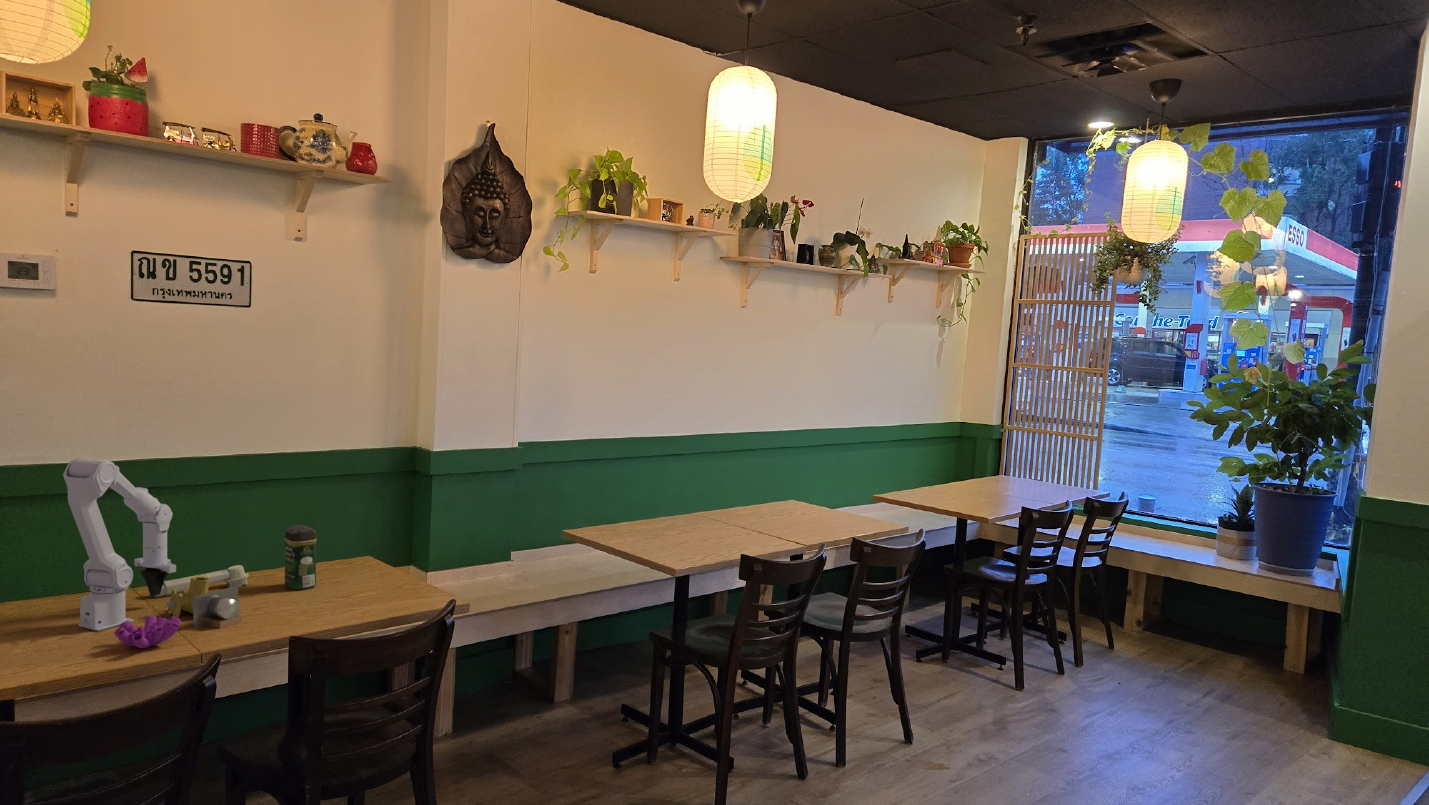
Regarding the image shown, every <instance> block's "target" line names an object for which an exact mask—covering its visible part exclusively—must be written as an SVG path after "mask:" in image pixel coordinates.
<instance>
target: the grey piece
mask: <svg viewBox="0 0 1429 805" xmlns="http://www.w3.org/2000/svg"><path fill="white" fill-rule="evenodd" d="M194 576H203V577H208V578H209V579H210V583H209V585H212V584H216V583H219V582H225V583H226V587H227V588H230V587H234V586H235V587H238V588H241V587H243V586H244V585H248V583H249V580H248V578H249V576H250V575H249V573H247V572H246V573H245V569H244V566H243V565H241V564H237V565H232V566H230V567H228V568H227V569H222V570H216V571H211V572H207V573H201V574H195V575H192V576H186V577H181V578H176V579H175V578H174V579H169V580H166V579H165V580H164V583H163V586H162V589H161V593H160V594H159V595H155V596H151V597H152V598H153V599H157V598H161V597H165V596H166V597H169V595H170V596H171V591H172V589H176V590H177V594H178V593H182V592H183V591H185V590H187V589H189V587H190V581H191V577H194Z"/></svg>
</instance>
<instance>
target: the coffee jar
mask: <svg viewBox="0 0 1429 805" xmlns="http://www.w3.org/2000/svg"><path fill="white" fill-rule="evenodd" d="M317 539H318V538H317V531H316V530H315V529H314V528H311V527H308V526H306V525H304V524H296V525H290V526H288V527H287V528H286V529H285V532H284V545H285V546H284V547H285V548H284V552H285V555H284V556H285V559H284V586H286V587H288V588H289V589H290V590H295V591H296V590H304V591H305V590H308V589H311V588H314V587H316V585H317V569H316V568H317V566H316V565H317V563H316V560H317V559H316V551H317V549H316V548H317V546H316V545H317Z"/></svg>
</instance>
